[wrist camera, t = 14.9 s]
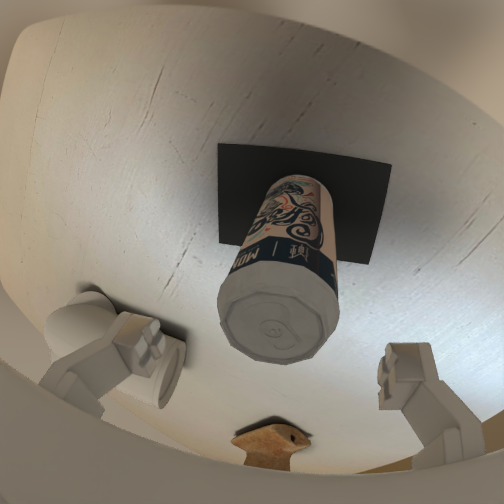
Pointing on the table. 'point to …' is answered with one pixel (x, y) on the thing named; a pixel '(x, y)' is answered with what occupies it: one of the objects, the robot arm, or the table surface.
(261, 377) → the table surface
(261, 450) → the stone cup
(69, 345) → the l-shaped cylinder
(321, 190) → the beer can
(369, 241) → the mat
